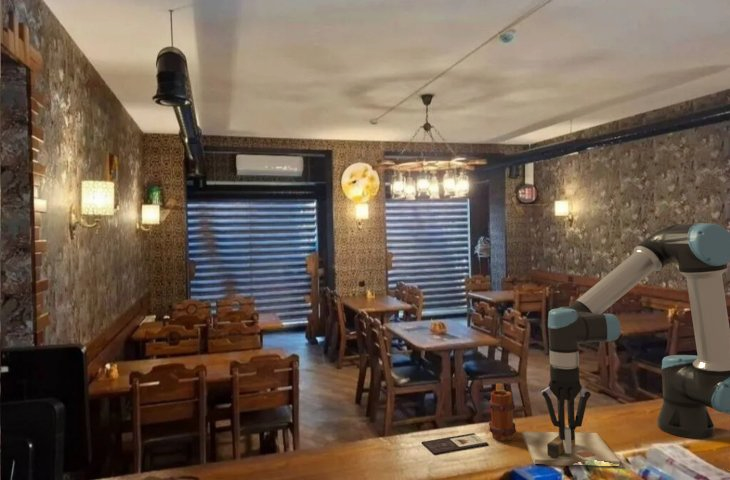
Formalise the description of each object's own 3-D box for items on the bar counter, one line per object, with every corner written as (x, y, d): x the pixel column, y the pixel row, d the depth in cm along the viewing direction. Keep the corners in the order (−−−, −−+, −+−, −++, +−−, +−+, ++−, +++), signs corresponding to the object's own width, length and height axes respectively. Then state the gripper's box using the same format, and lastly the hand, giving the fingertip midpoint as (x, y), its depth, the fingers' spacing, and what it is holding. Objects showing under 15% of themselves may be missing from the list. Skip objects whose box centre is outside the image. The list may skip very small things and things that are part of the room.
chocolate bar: (421, 441, 157) (473, 433, 162) (421, 444, 157) (473, 436, 162) (433, 453, 148) (488, 443, 153) (434, 456, 148) (488, 446, 153)
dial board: (596, 437, 156) (596, 432, 156) (619, 466, 136) (619, 460, 136) (522, 436, 159) (522, 431, 159) (534, 464, 139) (534, 458, 139)
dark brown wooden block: (562, 440, 151) (561, 427, 151) (577, 443, 148) (577, 430, 148) (544, 455, 141) (543, 441, 141) (560, 459, 138) (559, 445, 138)
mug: (517, 444, 153) (516, 394, 153) (489, 443, 155) (488, 394, 155) (513, 426, 167) (512, 381, 167) (488, 425, 169) (486, 380, 169)
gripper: (585, 362, 143) (588, 446, 143) (537, 362, 145) (540, 445, 145) (593, 369, 136) (596, 457, 136) (542, 369, 137) (545, 456, 137)
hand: (567, 451), depth 140 cm, fingers closed
